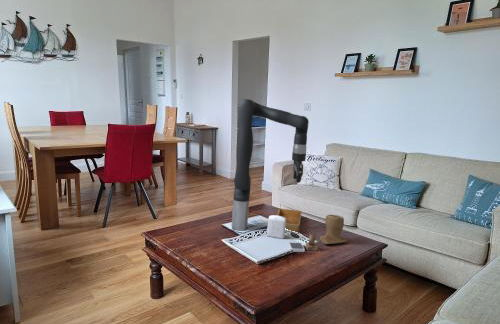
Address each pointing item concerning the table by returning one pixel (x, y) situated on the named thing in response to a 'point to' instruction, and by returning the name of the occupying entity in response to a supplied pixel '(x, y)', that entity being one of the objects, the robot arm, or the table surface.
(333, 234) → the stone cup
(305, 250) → the marked square
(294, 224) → the tray
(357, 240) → the table surface
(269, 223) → the photo printer
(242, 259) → the table surface
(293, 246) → the ink pad
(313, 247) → the hand stamp
